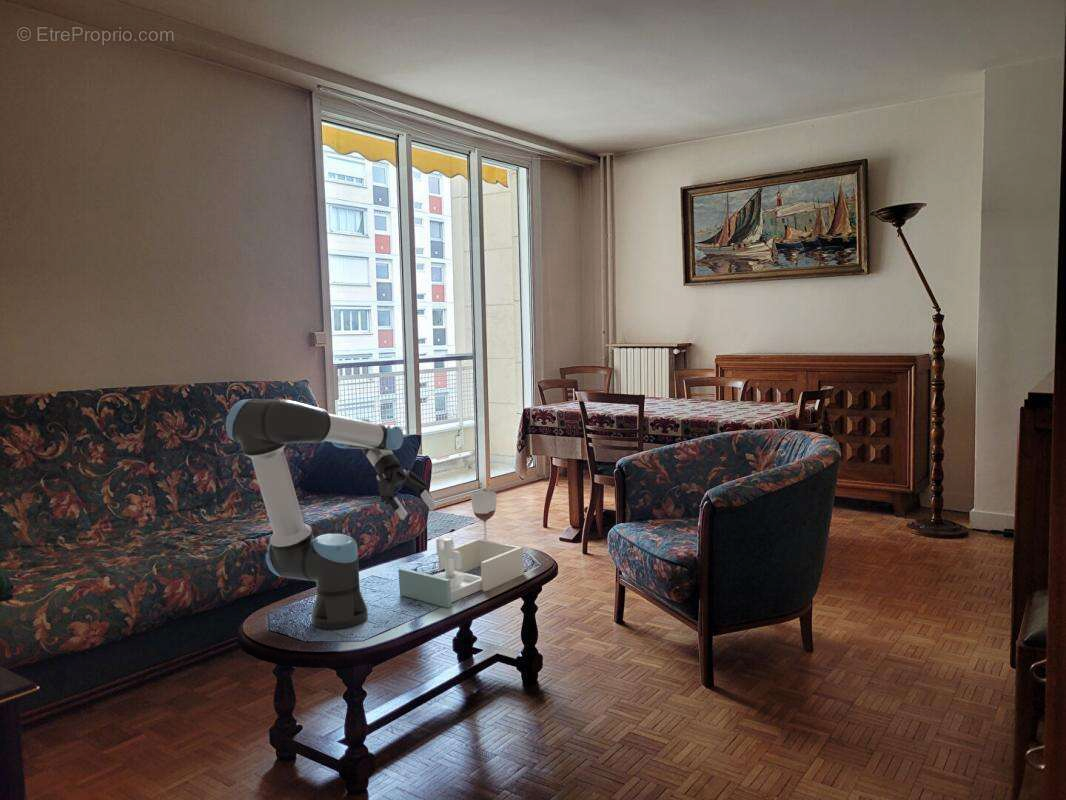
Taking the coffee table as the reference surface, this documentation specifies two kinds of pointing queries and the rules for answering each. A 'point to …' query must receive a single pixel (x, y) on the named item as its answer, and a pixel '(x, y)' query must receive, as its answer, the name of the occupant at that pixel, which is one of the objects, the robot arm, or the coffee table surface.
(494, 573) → the cubby
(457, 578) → the figurine
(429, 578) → the tray
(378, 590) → the coffee table surface
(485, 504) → the wineglass
